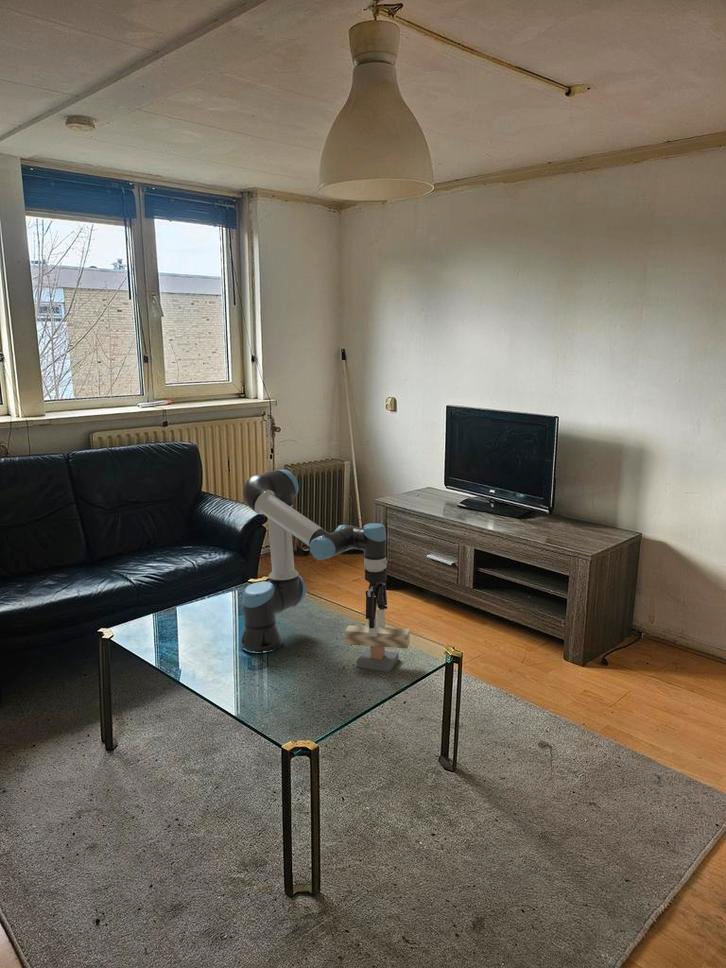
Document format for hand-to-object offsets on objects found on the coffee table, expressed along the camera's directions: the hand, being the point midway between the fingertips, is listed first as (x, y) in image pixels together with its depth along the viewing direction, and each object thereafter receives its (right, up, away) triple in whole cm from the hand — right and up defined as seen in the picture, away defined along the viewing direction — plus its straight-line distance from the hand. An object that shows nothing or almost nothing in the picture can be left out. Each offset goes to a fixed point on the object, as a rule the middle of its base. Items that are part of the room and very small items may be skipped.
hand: (377, 631), depth 239 cm
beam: (0, -5, +1) cm, 5 cm away
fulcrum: (0, -12, +3) cm, 12 cm away
